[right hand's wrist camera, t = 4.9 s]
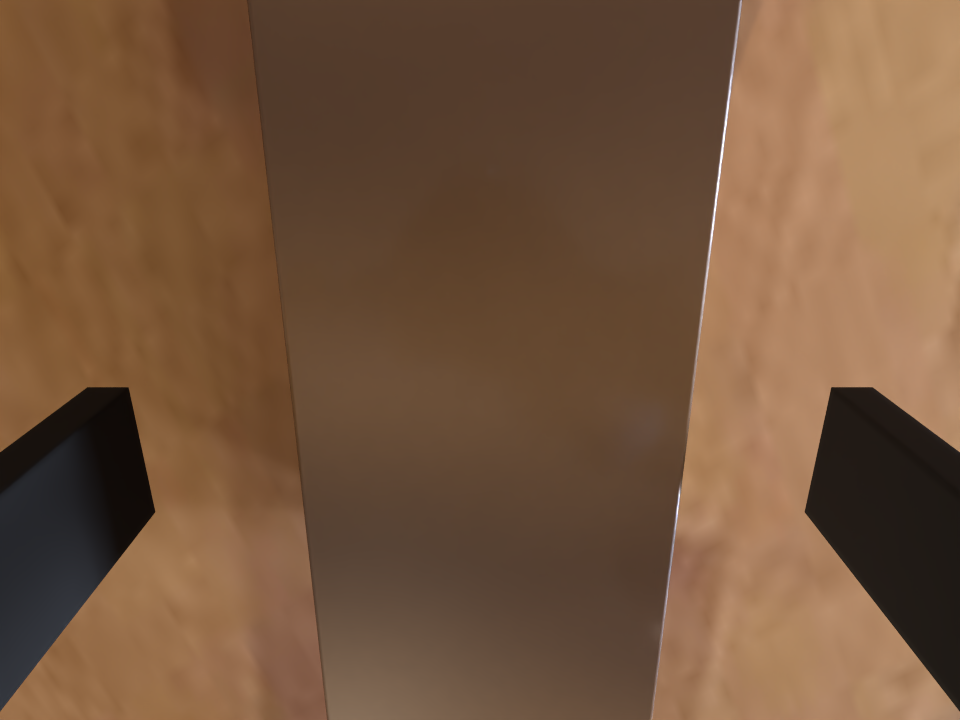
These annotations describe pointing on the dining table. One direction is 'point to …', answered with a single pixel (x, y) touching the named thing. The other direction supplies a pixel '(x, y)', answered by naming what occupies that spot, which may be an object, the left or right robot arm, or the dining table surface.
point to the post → (492, 335)
